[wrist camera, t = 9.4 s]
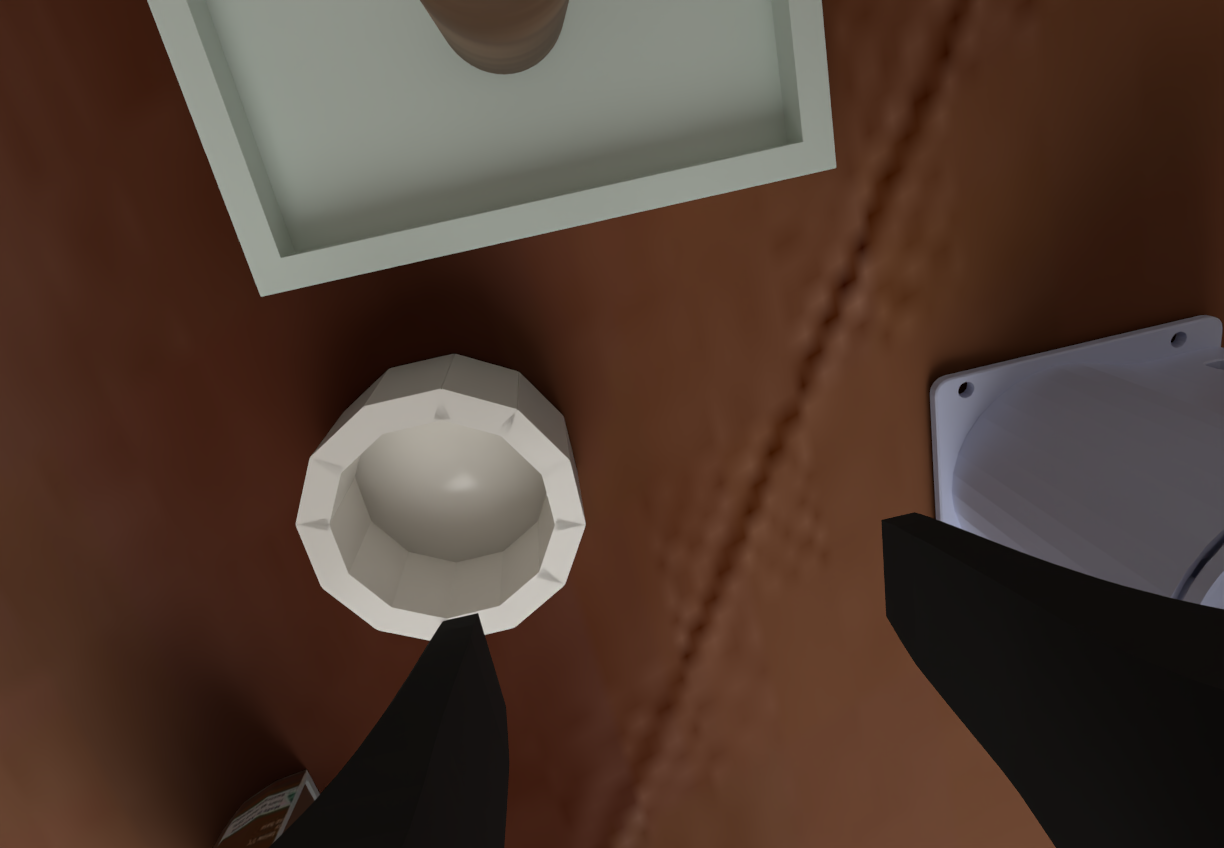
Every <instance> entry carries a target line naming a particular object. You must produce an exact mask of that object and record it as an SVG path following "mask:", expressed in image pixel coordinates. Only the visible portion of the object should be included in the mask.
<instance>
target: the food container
mask: <svg viewBox="0 0 1224 848" xmlns="http://www.w3.org/2000/svg"><path fill="white" fill-rule="evenodd" d="M319 795H320V793H319V791H318V790H317V788H316V786H315V784H314V782H313V780H312V778H311V776H310V775H309V773H308V771H307V770H304V771H301V772H298V773H296V774H293V775H290V776H287V777H285V778H282V779H279V780H276V781H275V782H273V783H272V784H270V785H269V786H267V787H266V788H264V789H263V790H261V791H260V792H258V793H257V794H255V795H254V796H253V797H251V798H250V799H248V800H247V801H245V802H244V803H243V804H242V805H241V806H240V808H239V809H238V810H237V812H236V813H235V814H234V816H233V817H232V818H231V820H230V821H229V822H228V824H227V825H226V826H225V828H224V829H223V830H222V832H221V834H220V836H219V837H218V839H217V841H216V843H215V844H214V846H213V848H269V847H270V846H271V845H272V844H273V843H274V842H275V841H276V840H277V839H278V838H279V837H280V836H281V835H282V834H283V833H284V832H285V831H286V830H287V829H288V828H289V827H290V826H291V825H292V824H293V823H294V822H295V821H296V820H297V819H298V818H299V817H300V816H301V815H302V814H303V813H304V812H305V811H306V809H307V808H308V807H309V806H310V805H311V804H312V803H313V802H314V801H315V800H316V799H317V797H318V796H319Z"/></svg>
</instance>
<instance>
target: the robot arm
mask: <svg viewBox="0 0 1224 848" xmlns="http://www.w3.org/2000/svg"><path fill="white" fill-rule="evenodd" d="M1175 334H1176V338H1175V340H1174V341H1173V342H1172V343H1171V340H1172V337H1173V336H1174V335H1175ZM1221 339H1222V323H1221V321H1220V320H1219V319H1218V318H1216V317H1213V316H1208V315H1199V316H1195V317H1191V318H1187V319H1182V320H1178V321H1174V322H1169V323H1165V324H1161V325H1157V326H1152V327H1148V328H1144V329H1140V330H1135V331H1131V332H1127V333H1123V334H1118V335H1114V336H1110V337H1106V338H1101V339H1097V340H1093V341H1089V342H1084V343H1080V344H1076V345H1072V346H1067V347H1063V348H1059V349H1055V350H1050V351H1046V352H1042V353H1038V354H1033V355H1029V356H1025V357H1020V358H1016V359H1012V360H1008V361H1003V362H999V363H995V364H991V365H986V366H982V367H978V368H974V369H969V370H965V371H961V372H957V373H952V374H948V375H944V376H942V377H939V378H938V379H937V380H936V381H935V382H934V383H933V385H932V386H931V389H930V409H931V429H932V450H933V470H934V490H935V511H936V519H934V518H931V517H928V516H925V515H921V514H918V513H915V512H914V513H910V514H906V515H901V516H897V517H893V518H888V519H884V520H882V539H883V559H884V579H885V599H886V616H887V618H888V620H889V621H890V623H891V625H892V626H893V628H894V630H895V631H896V633H897V635H898V637H899V638H900V640H901V642H902V643H903V645H904V646H905V648H906V650H907V651H908V653H909V654H910V656H911V657H912V659H913V661H914V662H915V664H916V665H917V666H918V668H919V669H920V670H921V671H922V673H923V674H924V675H925V676H926V678H927V679H928V680H929V681H930V683H931V684H932V685H933V686H934V688H935V689H936V690H937V691H938V693H939V694H940V695H941V696H942V698H943V699H944V700H945V701H946V702H947V704H948V705H949V706H950V707H951V709H952V710H953V711H954V712H955V713H956V715H957V716H958V717H959V718H960V720H961V721H962V722H963V723H964V724H965V726H966V727H967V728H968V729H969V730H970V732H971V733H972V734H973V735H974V737H975V738H976V739H977V740H978V741H979V743H980V744H981V745H982V746H983V748H984V749H985V750H986V751H987V752H988V754H989V755H990V756H991V757H992V759H993V760H994V761H995V762H996V763H997V765H998V766H999V767H1000V768H1001V770H1002V771H1003V772H1004V773H1005V775H1006V776H1007V777H1008V779H1009V780H1010V781H1011V783H1012V784H1013V785H1014V787H1015V788H1016V789H1017V791H1018V792H1019V793H1020V795H1021V796H1022V798H1023V799H1024V801H1025V802H1026V804H1027V805H1028V807H1029V808H1030V810H1031V811H1032V813H1033V814H1034V816H1035V817H1036V818H1037V820H1038V821H1039V823H1040V824H1041V826H1042V827H1043V829H1044V830H1045V832H1046V833H1047V835H1048V836H1049V838H1050V839H1051V841H1052V842H1053V844H1054V845H1055V847H1056V848H1224V348H1222V347H1221ZM965 382H967V388H966V390H965V391H964V392H963V393H961V394H959V393H958V390H959V387H960V386H961V384H963V383H965ZM508 777H509V748H508V731H507V716H506V705H505V702H504V699H503V695H502V692H501V689H500V685H499V682H498V678H497V675H496V672H495V668H494V665H493V662H492V658H491V655H490V652H489V648H488V645H487V641H486V638H485V635H484V631H483V628H482V625H481V621H480V618H479V614H478V613H476V614H472V615H467V616H463V617H459V618H454V619H450V620H445V621H443V622H442V623H441V625H440V626H439V627H438V629H437V631H436V632H435V634H434V635H433V637H432V639H431V640H430V642H429V643H428V645H427V647H426V648H425V650H424V652H423V653H422V655H421V657H420V658H419V660H418V662H417V663H416V665H415V666H414V668H413V670H412V671H411V673H410V674H409V676H408V678H407V679H406V681H405V682H404V684H403V685H402V687H401V688H400V690H399V691H398V693H397V694H396V696H395V697H394V699H393V701H392V702H391V704H390V705H389V707H388V708H387V710H386V711H385V713H384V714H383V715H382V717H381V718H380V720H379V721H378V722H377V724H376V725H375V727H374V728H373V729H372V731H371V732H370V733H369V735H368V736H367V737H366V739H365V740H364V742H363V743H362V744H361V746H360V747H359V748H358V750H357V751H356V752H355V754H354V755H353V756H352V757H351V759H350V760H349V761H348V762H347V764H346V765H345V766H344V767H343V769H342V770H341V771H340V772H339V773H338V775H337V776H336V777H335V778H334V779H333V780H332V781H331V783H330V784H329V785H328V786H327V787H326V788H325V789H324V791H323V792H322V793H321V794H320V795H319V796H318V797H317V799H316V800H315V801H314V802H313V803H312V804H311V805H310V806H309V807H308V808H307V809H306V811H305V812H304V813H303V814H302V815H301V816H300V817H299V818H298V819H297V820H296V821H295V822H294V823H293V824H292V825H291V826H290V827H289V828H288V829H287V830H286V831H285V832H284V833H283V834H282V835H281V836H280V837H279V838H278V839H277V840H276V841H275V842H274V843H273V844H272V845H271V846H270V847H269V848H504V842H505V827H506V811H507V795H508Z"/></svg>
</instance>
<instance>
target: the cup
mask: <svg viewBox="0 0 1224 848" xmlns="http://www.w3.org/2000/svg"><path fill="white" fill-rule="evenodd" d="M585 526H586V522H585V516H584V510H583V504H582V498H581V491H580V485H579V479H578V473H577V469H576V465H575V460H574V456H573V452H572V448H571V444H570V440H569V436H568V432H567V428H566V424H565V420H564V417H563V415H562V414H561V413H560V412H559V411H558V410H557V409H556V408H555V407H554V406H553V405H552V404H551V403H550V402H549V401H548V400H547V399H546V398H545V397H544V396H543V395H542V394H541V393H540V392H539V391H538V390H537V389H536V388H535V387H534V386H533V385H532V384H531V383H530V382H529V381H528V380H527V379H526V378H525V377H524V376H523V375H522V374H521V373H520V372H519V371H515V370H512V369H508V368H504V367H501V366H497V365H494V364H490V363H487V362H483V361H480V360H476V359H473V358H469V357H466V356H462V355H459V354H455V355H454V354H450V355H445V356H441V357H437V358H432V359H428V360H423V361H419V362H415V363H410V364H406V365H402V366H397V367H393V368H390V369H388V370H387V371H386V372H385V373H384V374H383V375H382V376H381V377H380V378H379V379H378V380H377V381H375V382H374V383H373V384H372V385H371V386H370V387H369V388H368V389H367V390H366V391H365V392H364V393H363V394H362V395H361V396H360V397H359V398H358V399H357V400H356V401H355V402H353V403H352V404H351V405H350V406H349V407H348V408H347V409H346V410H345V411H344V412H343V414H342V415H341V416H340V418H339V419H338V420H337V422H336V423H335V424H334V426H333V427H332V428H331V430H330V431H329V432H328V434H327V435H326V437H325V438H324V439H323V441H322V442H321V443H320V445H319V446H318V447H317V449H316V450H315V451H314V453H313V454H312V455H311V457H310V459H309V464H308V469H307V473H306V478H305V483H304V487H303V492H302V497H301V501H300V506H299V511H298V515H297V520H296V527H297V529H298V532H299V534H300V537H301V539H302V542H303V544H304V546H305V549H306V551H307V554H308V556H309V559H310V561H311V563H312V566H313V568H314V571H315V573H316V575H317V578H318V580H319V583H320V585H321V587H322V588H323V589H324V590H325V591H327V592H328V593H329V594H331V595H332V596H333V597H335V598H336V599H337V600H339V601H340V602H341V603H342V604H344V605H345V606H346V607H348V608H349V609H350V610H352V611H353V612H354V613H356V614H357V615H358V616H359V617H361V618H362V619H363V620H365V621H366V622H367V623H369V624H370V625H371V626H373V627H374V628H375V629H376V630H377V629H378V630H379V631H385V632H390V633H395V634H400V635H405V636H410V637H415V638H420V639H425V640H431V639H432V637H433V635H434V634H435V632H436V631H437V629H438V627H439V626H440V625H441V623H442V622H443V621H445V620H450V619H454V618H459V617H463V616H467V615H472V614H476V613H478V614H479V618H480V621H481V625H482V628H483V631H484V635H486V634H490V633H494V632H498V631H503V630H507V629H511V628H514V627H516V626H517V625H518V624H519V623H520V622H522V621H523V620H524V619H525V618H526V617H528V616H529V615H530V614H531V613H532V612H533V611H535V610H536V609H537V608H538V607H539V606H541V605H542V604H543V603H544V602H545V601H546V600H548V599H549V598H550V597H551V596H552V595H554V594H555V593H556V592H557V591H558V590H559V589H561V588H562V587H563V586H564V584H565V583H566V580H567V577H568V574H569V572H570V569H571V566H572V563H573V560H574V557H575V554H576V552H577V549H578V546H579V543H580V540H581V537H582V534H583V531H584V529H585Z"/></svg>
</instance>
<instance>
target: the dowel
mask: <svg viewBox="0 0 1224 848" xmlns="http://www.w3.org/2000/svg"><path fill="white" fill-rule="evenodd" d="M420 1H421V3H422V4H423V6H424V7H425V9H426V10H427V12H428V13H429V15H430V17H431V18H432V20H433V21H434V23H435V24H436V26H437V27H438V29H439V30H440V32H441V33H442V35H443V36H444V38H445V40H446V41H447V42H448V44H449V45H450V47H451V48H452V49H453V50H454V51H455V52H456V53H457V55H459V56H460V57H461V58H462V59H463V60H464V61H466V62H467V63H469V64H470V65H472V66H474V67H476V68H478V69H480V70H483V71H485V72H489V73H494V74H504V75H505V74H514V73H519V72H522V71H525V70H527V69H529V68H531V67H533V66H535V65H536V64H538V63H539V62H540V61H541V60H543V59H544V58H545V57H546V56H547V55H548V54H549V52H550V51H551V50H552V48H553V47H554V45H555V43H556V42H557V40H558V38H559V35H560V33H561V30H562V27H563V23H564V19H565V15H566V11H567V7H568V3H569V0H420Z"/></svg>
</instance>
